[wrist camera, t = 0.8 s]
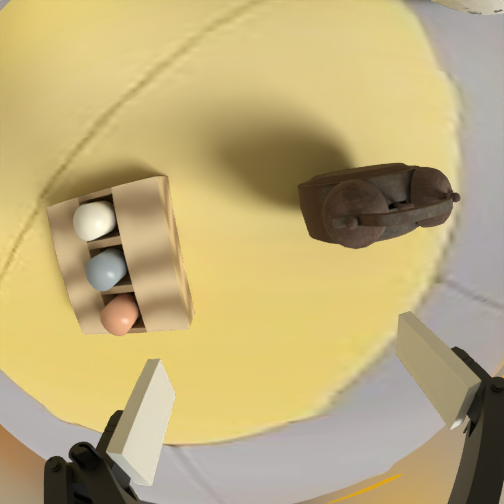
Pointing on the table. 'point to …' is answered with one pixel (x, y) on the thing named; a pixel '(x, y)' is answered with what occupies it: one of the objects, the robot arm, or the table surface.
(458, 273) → the table surface
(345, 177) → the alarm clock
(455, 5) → the puzzle globe
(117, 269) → the blue egg
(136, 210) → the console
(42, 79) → the table surface
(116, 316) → the peach egg
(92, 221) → the cream rounded piece
